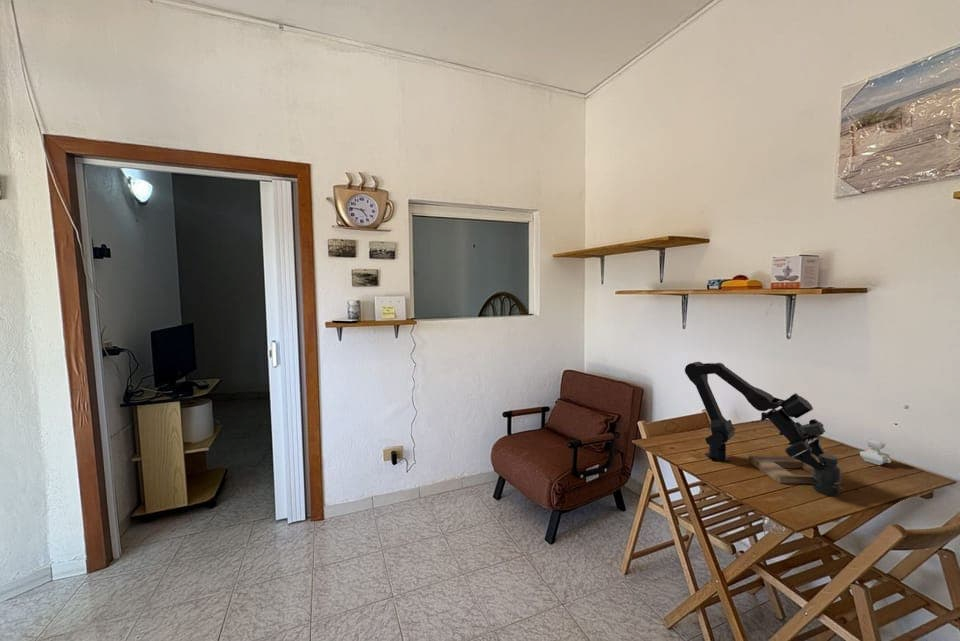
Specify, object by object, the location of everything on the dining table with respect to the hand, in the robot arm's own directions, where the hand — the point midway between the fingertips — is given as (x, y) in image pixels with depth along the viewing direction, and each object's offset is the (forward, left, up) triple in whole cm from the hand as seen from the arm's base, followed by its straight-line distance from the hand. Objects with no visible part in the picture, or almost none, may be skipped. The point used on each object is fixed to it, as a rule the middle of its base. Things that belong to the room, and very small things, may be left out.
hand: (824, 465), depth 132 cm
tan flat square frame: (-13, -2, -8) cm, 16 cm away
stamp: (-21, +36, -9) cm, 43 cm away
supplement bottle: (+1, 0, -9) cm, 9 cm away
